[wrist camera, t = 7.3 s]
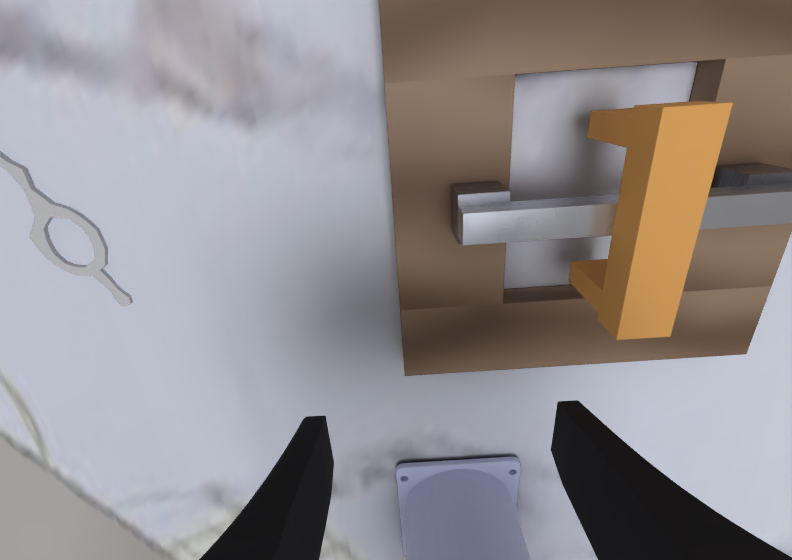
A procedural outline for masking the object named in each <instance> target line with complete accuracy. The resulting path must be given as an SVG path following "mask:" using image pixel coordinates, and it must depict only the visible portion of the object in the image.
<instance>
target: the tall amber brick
mask: <svg viewBox="0 0 792 560" xmlns="http://www.w3.org/2000/svg"><path fill="white" fill-rule="evenodd" d="M732 105H733V102H707V101H692V102H678V103H664V104H649V105H635V106H634V108H627V109H613V110H599V111H591V114H590V121H589V129H588V137H587V138H590V139H594V140H598V141H602V142H606V143H610V144H614V145H619V146H623V147H627V152H626V158H625V164H624V169H623V175H622V181H621V187H620V192H619V198H618V204H617V210H616V216H615V221H614V227H613V233H612V239H611V245H610V250H609V256H608V259H600V260H585V261H571V267H570V274H569V282H570V283H571V284H572V285H573V286H574V287H575V288H576V289H577V290H578V291H579V293H580V294H581V295H582V296H583V297H584V298H585V299H586V300H587V301H588V302H589V303H590V304H591V305H592V306H593V307H594V308H595V310H596V311H597V312H598V313H599V314H598V320H599V321H600V322H601V324H602V325H603V326H604V327H605V328H606V329H607V330H608V331H609V332H610V333H611V335H612V336H613V337H614V338H615V339H616V340H625V339H640V338H656V337H670V336H671V332H672V329H673V325H674V321H675V318H676V314H677V310H678V306H679V303H680V299H681V295H682V291H683V288H684V284H685V280H686V276H687V273H688V269H689V265H690V261H691V258H692V254H693V250H694V247H695V243H696V239H697V235H698V232H699V228H700V224H701V220H702V217H703V213H704V209H705V205H706V202H707V198H708V194H709V191H710V187H711V183H712V179H713V176H714V172H715V168H716V164H717V161H718V157H719V153H720V149H721V146H722V142H723V138H724V135H725V131H726V127H727V123H728V120H729V116H730V112H731V108H732Z"/></svg>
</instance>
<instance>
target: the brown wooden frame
mask: <svg viewBox="0 0 792 560" xmlns="http://www.w3.org/2000/svg"><path fill="white" fill-rule="evenodd" d="M379 10H380V25H381V39H382V54H383V68H384V83H385V97H386V112H387V126H388V140H389V155H390V169H391V184H392V198H393V213H394V227H395V241H396V256H397V270H398V285H399V299H400V314H401V328H402V342H403V357H404V371H405V376H412V375H427V374H443V373H458V372H474V371H490V370H505V369H521V368H537V367H552V366H568V365H584V364H599V363H615V362H631V361H646V360H662V359H678V358H693V357H709V356H725V355H740V354H746V353H747V351H748V348H749V345H750V343H751V340H752V337H753V334H754V332H755V329H756V326H757V324H758V321H759V318H760V316H761V313H762V310H763V307H764V305H765V302H766V299H767V297H768V294H769V291H770V289H771V286H772V283H773V281H774V278H775V275H776V272H777V270H778V267H779V264H780V262H781V259H782V256H783V254H784V251H785V248H786V246H787V243H788V240H789V237H790V235H791V232H792V223H788V224H773V225H758V226H744V227H729V228H714V229H699V232H698V235H697V239H696V243H695V247H694V250H693V254H692V258H691V261H690V265H689V269H688V273H687V276H686V280H685V284H684V288H683V291H682V295H681V299H680V303H679V306H678V310H677V314H676V318H675V321H674V325H673V329H672V332H671V336H670V337H656V338H640V339H625V340H616V339H615V338H614V337H613V336H612V335H611V333H610V332H609V331H608V330H607V329H606V328H605V327H604V326H603V325H602V324H601V322H600V321H599V320H598V314H599V313H598V312H597V311H596V310H595V308H594V307H593V306H592V305H591V304H590V303H589V302H588V301H587V300H586V299H585V298H584V297H583V296H582V295H581V294H580V293H579V291H578V290H577V289H576V288H575V287H574V286H573V285H562V286H547V287H531V288H516V289H503V288H504V270H505V251H506V243H491V244H476V245H463V244H457V241H456V239H455V237H454V235H453V232H452V230H451V184H454V183H468V182H483V181H497V180H498V181H499V182H500V183H501V184H502V185H504V186H505V187H506V188H507V189H509V178H510V160H511V142H512V123H513V105H514V87H515V74H529V73H543V72H557V71H571V70H585V69H599V68H613V67H627V66H640V65H654V64H668V63H682V62H696V61H699V62H698V67H697V71H696V76H695V80H694V84H693V89H692V93H691V98H690V102H692V101H707V102H733V105H732V108H731V112H730V116H729V120H728V123H727V127H726V131H725V135H724V138H723V142H722V146H721V149H720V153H719V157H718V161H717V164H716V165H729V164H743V163H758V162H759V163H765V164H770V165H775V166H780V167H785V168H790V169H792V0H379Z"/></svg>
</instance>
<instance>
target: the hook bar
mask: <svg viewBox="0 0 792 560" xmlns="http://www.w3.org/2000/svg"><path fill="white" fill-rule="evenodd" d="M510 193H511V191H510V190H509V189H507V188H506V187H505V186H504V185H502V184H501V183H500V182H499V181H498V180H497V181H483V182H468V183H454V184H451V230H452V232H453V235H454V237H455V239H456V241H457V244H463V245H476V244H491V243H506V242H521V241H536V240H551V239H565V238H580V237H595V236H610V235H612V233H613V227H614V221H615V216H616V210H617V204H618V198H619V194H614V195H599V196H585V197H570V198H555V199H541V200H526V201H512V202H510ZM788 223H792V169H790V168H785V167H780V166H775V165H770V164H765V163H759V162H758V163H743V164H729V165H716V168H715V172H714V176H713V179H712V183H711V187H710V191H709V194H708V198H707V202H706V205H705V209H704V213H703V217H702V220H701V224H700V228H699V229H714V228H729V227H744V226H758V225H773V224H788Z"/></svg>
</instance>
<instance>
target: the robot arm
mask: <svg viewBox="0 0 792 560" xmlns="http://www.w3.org/2000/svg"><path fill="white" fill-rule="evenodd" d="M551 451H552V454H553V457H554V461H555V464H556V467H557V470H558V473H559V475H560V478H561V481H562V484H563V486H564V488H565V490H566V493H567V495H568V497H569V499H570V501H571V503H572V505H573V508H574V510H575V512H576V514H577V516H578V518H579V520H580V522H581V524H582V526H583V529H584V531H585V533H586V535H587V537H588V539H589V541H590V543H591V545H592V548H593V550H594V552H595V554H596V556H597V558H598V560H792V557H790V556H788V555H786V554H785V553H783V552H781V551H779V550H778V549H776V548H774V547H773V546H771V545H769V544H767V543H766V542H764V541H762V540H761V539H759V538H757V537H756V536H754V535H752V534H751V533H749V532H748V531H746V530H744V529H743V528H741V527H739V526H738V525H736V524H734V523H733V522H731V521H730V520H728V519H727V518H725V517H724V516H722V515H720V514H719V513H717V512H716V511H714V510H713V509H711V508H710V507H709V506H707V505H706V504H704V503H703V502H701V501H700V500H698V499H697V498H695V497H694V496H693V495H691V494H690V493H688V492H687V491H685V490H684V489H683V488H681V487H680V486H679V485H677V484H676V483H675V482H673V481H672V480H671V479H669V478H668V477H667V476H665V475H664V474H663V473H662V472H660V471H659V470H658V469H656V468H655V467H654V466H653V465H651V464H650V463H649V462H648V461H646V460H645V459H644V458H643V457H641V456H640V455H639V454H638V453H637V452H636V451H634V450H633V449H632V448H631V447H630V446H628V445H627V444H626V443H625V442H624V441H623V440H621V439H620V438H619V437H618V436H617V435H616V434H615V433H613V432H612V431H611V430H610V429H609V428H608V427H607V426H606V425H604V424H603V423H602V422H601V421H600V420H599V419H598V418H597V417H596V416H594V415H593V414H592V413H591V412H590V411H589V410H588V409H587V408H586V407H584V406H583V405H582V404H581V403H580V402H579V401H561V402H558V404H557V411H556V418H555V425H554V432H553V440H552V447H551ZM333 467H334V461H333V455H332V450H331V444H330V438H329V433H328V427H327V422H326V416H312V417H305V418H304V419H303V421H302V422H301V424H300V426H299V428H298V429H297V431H296V433H295V435H294V436H293V438H292V440H291V441H290V443H289V445H288V446H287V448H286V449H285V451H284V453H283V454H282V456H281V457H280V459H279V460H278V462H277V463H276V465H275V466H274V468H273V469H272V471H271V472H270V474H269V475H268V477H267V478H266V480H265V481H264V482H263V484H262V485H261V486H260V488H259V489H258V490H257V492H256V493H255V494H254V496H253V497H252V499H251V500H250V501H249V503H248V504H247V505H246V506H245V508H244V509H243V510H242V511H241V513H240V514H239V515H238V516H237V518H236V519H235V520H234V521H233V523H232V524H231V525H230V526H229V527H228V528H227V530H226V531H225V532H224V533H223V534H222V535H221V537H220V538H219V539H218V540H217V541H216V542H215V543H214V544H213V545H212V546H211V547H210V549H209V550H208V551H207V552H206V553H205V554H204V555H203V556H202V557H201V558H200V559H199V560H319V557H320V552H321V546H322V541H323V536H324V531H325V526H326V521H327V515H328V510H329V505H330V499H331V491H332V480H333ZM520 468H521V465H520V461H519V459H518V458H516V457H498V458H482V459H465V460H449V461H433V462H417V463H402V464H399V465H398V466H397V467H396V478H397V489H398V500H399V510H400V521H401V532H402V543H403V554H404V556H405V557H406V558H407V560H530V557H529V553H528V550H527V547H526V544H525V540H524V537H523V534H522V530H521V527H520V524H519V521H518V517H517V514H516V510H517V499H518V489H519V478H520Z"/></svg>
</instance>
